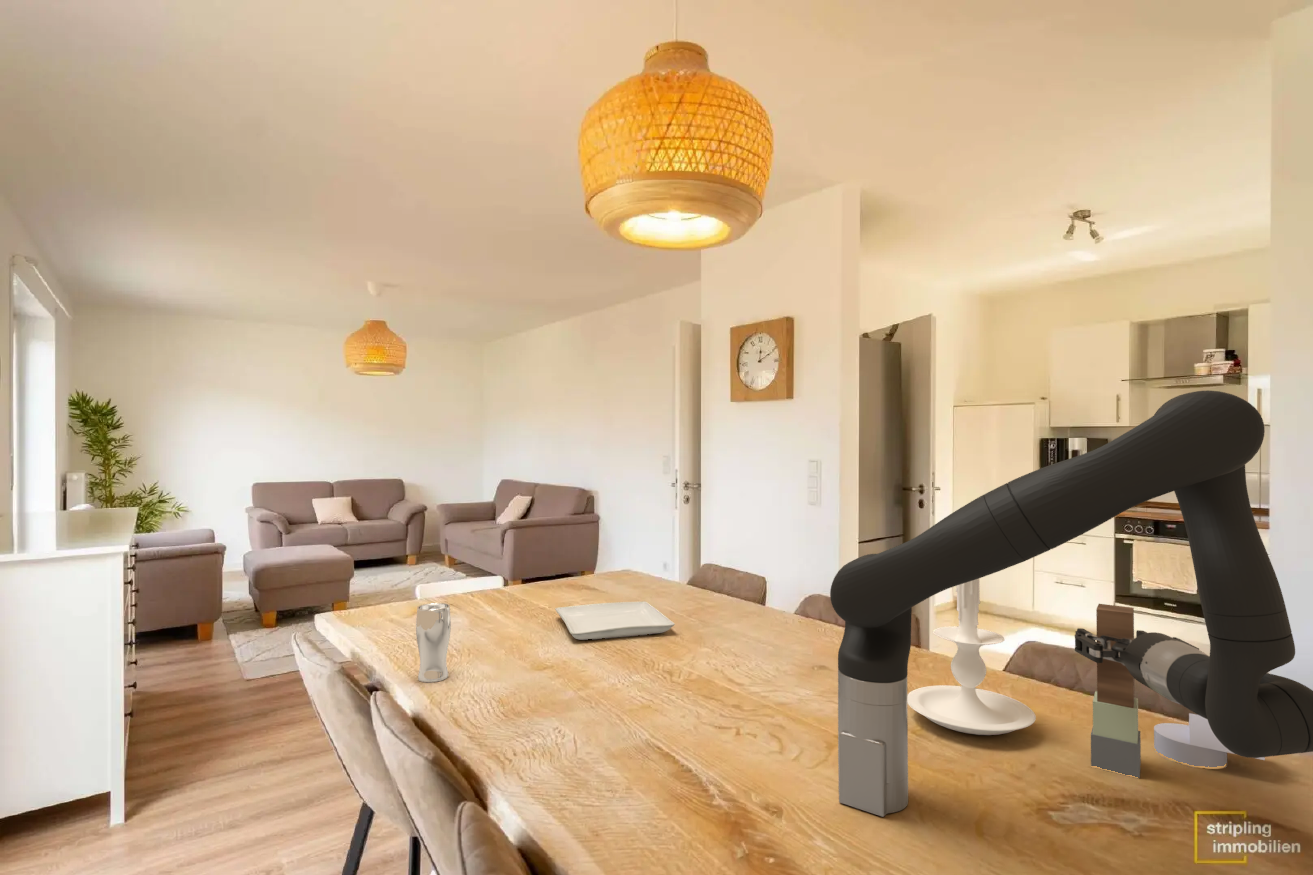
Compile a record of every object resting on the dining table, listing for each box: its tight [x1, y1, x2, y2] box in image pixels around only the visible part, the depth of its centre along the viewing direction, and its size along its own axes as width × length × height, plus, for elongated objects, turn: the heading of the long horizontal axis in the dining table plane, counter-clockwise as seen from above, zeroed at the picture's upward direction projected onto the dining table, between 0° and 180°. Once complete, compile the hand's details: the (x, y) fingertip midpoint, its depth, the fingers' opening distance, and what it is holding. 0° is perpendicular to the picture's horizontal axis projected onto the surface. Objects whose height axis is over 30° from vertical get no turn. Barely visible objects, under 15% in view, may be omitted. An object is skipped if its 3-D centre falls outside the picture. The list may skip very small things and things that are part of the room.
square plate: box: [554, 600, 676, 641], centre depth 183 cm, size 27×27×4 cm
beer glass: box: [415, 602, 452, 683], centre depth 142 cm, size 7×7×15 cm
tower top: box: [1092, 690, 1139, 744], centre depth 103 cm, size 6×6×5 cm
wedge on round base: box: [1153, 712, 1266, 767], centre depth 105 cm, size 9×7×13 cm
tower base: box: [1090, 727, 1142, 779], centre depth 103 cm, size 6×6×5 cm
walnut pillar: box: [1095, 603, 1136, 708], centre depth 103 cm, size 4×4×14 cm
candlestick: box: [907, 578, 1037, 736], centre depth 121 cm, size 21×25×28 cm
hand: (1108, 635), depth 105 cm, fingers open, 8 cm apart
